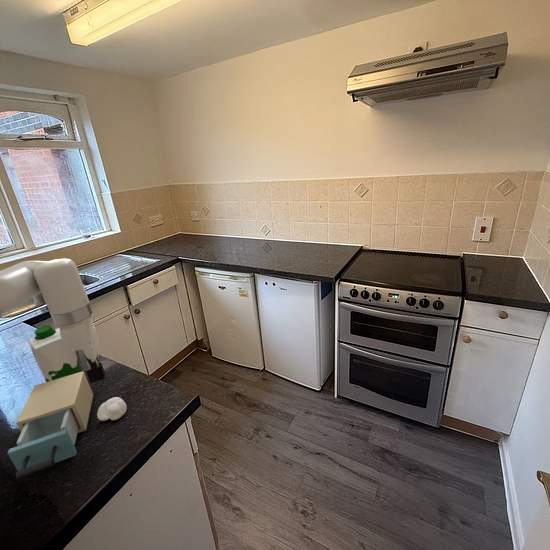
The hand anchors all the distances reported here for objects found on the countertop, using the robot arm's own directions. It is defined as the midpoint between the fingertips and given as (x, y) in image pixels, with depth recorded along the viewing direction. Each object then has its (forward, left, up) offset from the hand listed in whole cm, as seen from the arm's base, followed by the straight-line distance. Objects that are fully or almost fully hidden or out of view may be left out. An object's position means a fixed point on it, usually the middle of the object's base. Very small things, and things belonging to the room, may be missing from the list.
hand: (98, 379), depth 74 cm
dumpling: (0, 0, -12) cm, 13 cm away
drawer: (-12, -6, -11) cm, 17 cm away
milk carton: (-13, +19, -12) cm, 27 cm away
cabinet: (-12, +5, -12) cm, 18 cm away
